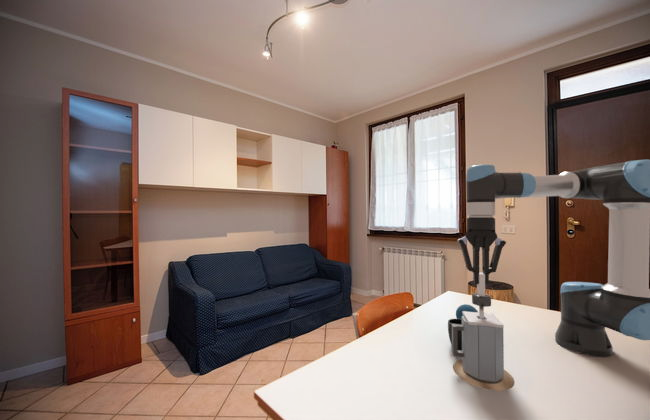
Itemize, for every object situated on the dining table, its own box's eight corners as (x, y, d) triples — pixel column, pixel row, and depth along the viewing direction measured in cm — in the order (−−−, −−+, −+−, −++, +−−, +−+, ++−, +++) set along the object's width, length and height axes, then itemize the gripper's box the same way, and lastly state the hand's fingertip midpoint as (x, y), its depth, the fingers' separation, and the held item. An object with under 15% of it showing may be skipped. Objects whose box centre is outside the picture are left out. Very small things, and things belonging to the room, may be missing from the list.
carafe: (495, 366, 85) (495, 313, 85) (507, 386, 75) (507, 326, 76) (449, 360, 89) (449, 309, 89) (455, 378, 79) (455, 321, 79)
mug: (489, 353, 94) (488, 325, 94) (458, 356, 92) (458, 328, 92) (471, 342, 102) (471, 316, 102) (443, 345, 100) (443, 319, 100)
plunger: (491, 331, 84) (491, 293, 84) (500, 343, 77) (500, 300, 77) (465, 329, 86) (464, 291, 87) (470, 339, 79) (470, 298, 79)
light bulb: (480, 333, 109) (480, 303, 109) (479, 342, 102) (478, 310, 102) (457, 329, 114) (457, 300, 114) (454, 336, 107) (454, 306, 107)
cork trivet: (502, 364, 87) (502, 362, 87) (524, 397, 72) (524, 395, 72) (448, 357, 92) (448, 355, 92) (458, 386, 76) (458, 384, 76)
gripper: (500, 216, 84) (501, 293, 84) (454, 216, 87) (455, 289, 87) (510, 217, 77) (510, 300, 76) (459, 216, 80) (459, 296, 80)
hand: (481, 294), depth 82 cm, fingers closed
